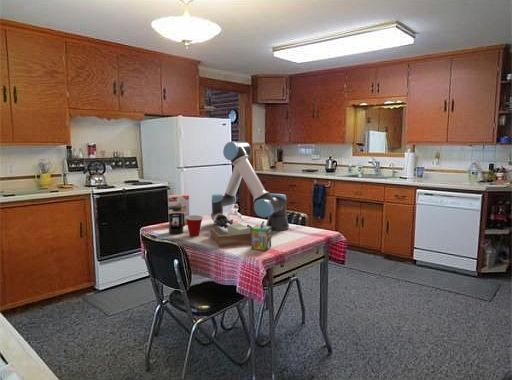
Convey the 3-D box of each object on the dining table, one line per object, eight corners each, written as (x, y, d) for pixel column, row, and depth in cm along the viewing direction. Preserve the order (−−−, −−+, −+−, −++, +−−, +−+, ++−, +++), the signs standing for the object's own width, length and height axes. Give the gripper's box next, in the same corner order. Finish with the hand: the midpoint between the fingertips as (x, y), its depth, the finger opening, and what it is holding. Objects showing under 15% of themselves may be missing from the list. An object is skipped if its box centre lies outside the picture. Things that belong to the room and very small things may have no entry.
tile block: (228, 237, 220) (227, 224, 219) (238, 236, 224) (237, 223, 223) (239, 243, 209) (239, 229, 208) (250, 241, 212) (250, 227, 211)
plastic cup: (196, 238, 219) (195, 219, 217) (182, 236, 224) (181, 217, 222) (207, 234, 228) (206, 215, 226) (193, 232, 233) (192, 214, 232)
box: (210, 237, 221) (210, 227, 220) (248, 233, 229) (248, 224, 228) (219, 247, 201) (219, 236, 200) (260, 242, 209) (260, 232, 208)
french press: (173, 235, 227) (172, 199, 224) (164, 233, 233) (163, 197, 230) (188, 231, 236) (187, 196, 232) (179, 229, 242) (178, 195, 238)
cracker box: (169, 226, 251) (168, 196, 249) (169, 224, 257) (168, 195, 254) (190, 225, 255) (189, 195, 252) (189, 223, 260) (188, 194, 258)
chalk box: (255, 244, 205) (255, 219, 203) (271, 246, 202) (271, 219, 200) (250, 249, 196) (250, 222, 194) (267, 251, 193) (267, 223, 191)
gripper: (230, 224, 245) (240, 232, 223) (211, 226, 241) (219, 234, 219) (230, 213, 244) (240, 220, 222) (211, 215, 240) (219, 222, 218)
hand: (230, 227), depth 221 cm, fingers closed
